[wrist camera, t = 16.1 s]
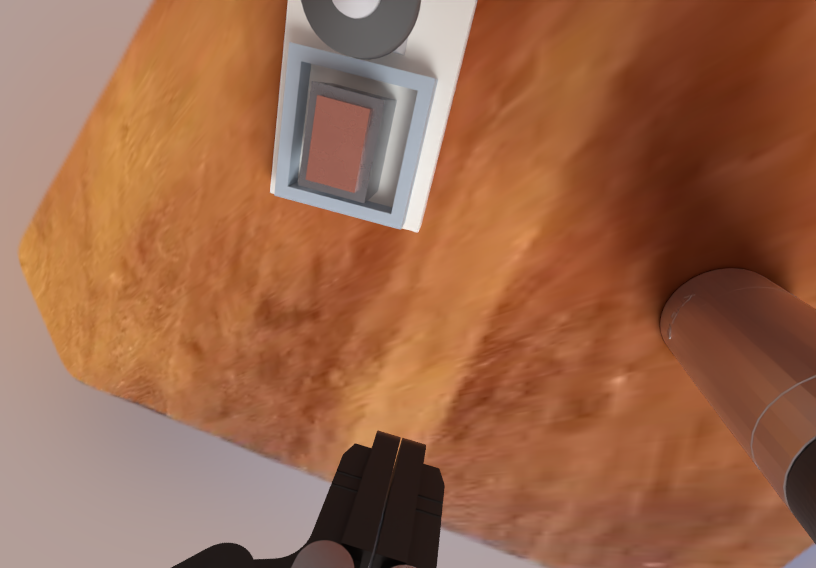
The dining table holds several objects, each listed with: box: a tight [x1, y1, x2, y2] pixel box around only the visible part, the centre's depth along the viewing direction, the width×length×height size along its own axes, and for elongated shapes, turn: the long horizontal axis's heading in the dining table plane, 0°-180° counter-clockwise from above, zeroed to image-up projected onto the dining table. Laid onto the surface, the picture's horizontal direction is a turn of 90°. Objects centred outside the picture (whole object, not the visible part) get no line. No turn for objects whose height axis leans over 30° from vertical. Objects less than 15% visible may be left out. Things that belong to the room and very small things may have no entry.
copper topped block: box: [298, 81, 397, 203], centre depth 32 cm, size 5×7×5 cm
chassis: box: [270, 0, 477, 232], centre depth 32 cm, size 13×18×6 cm
